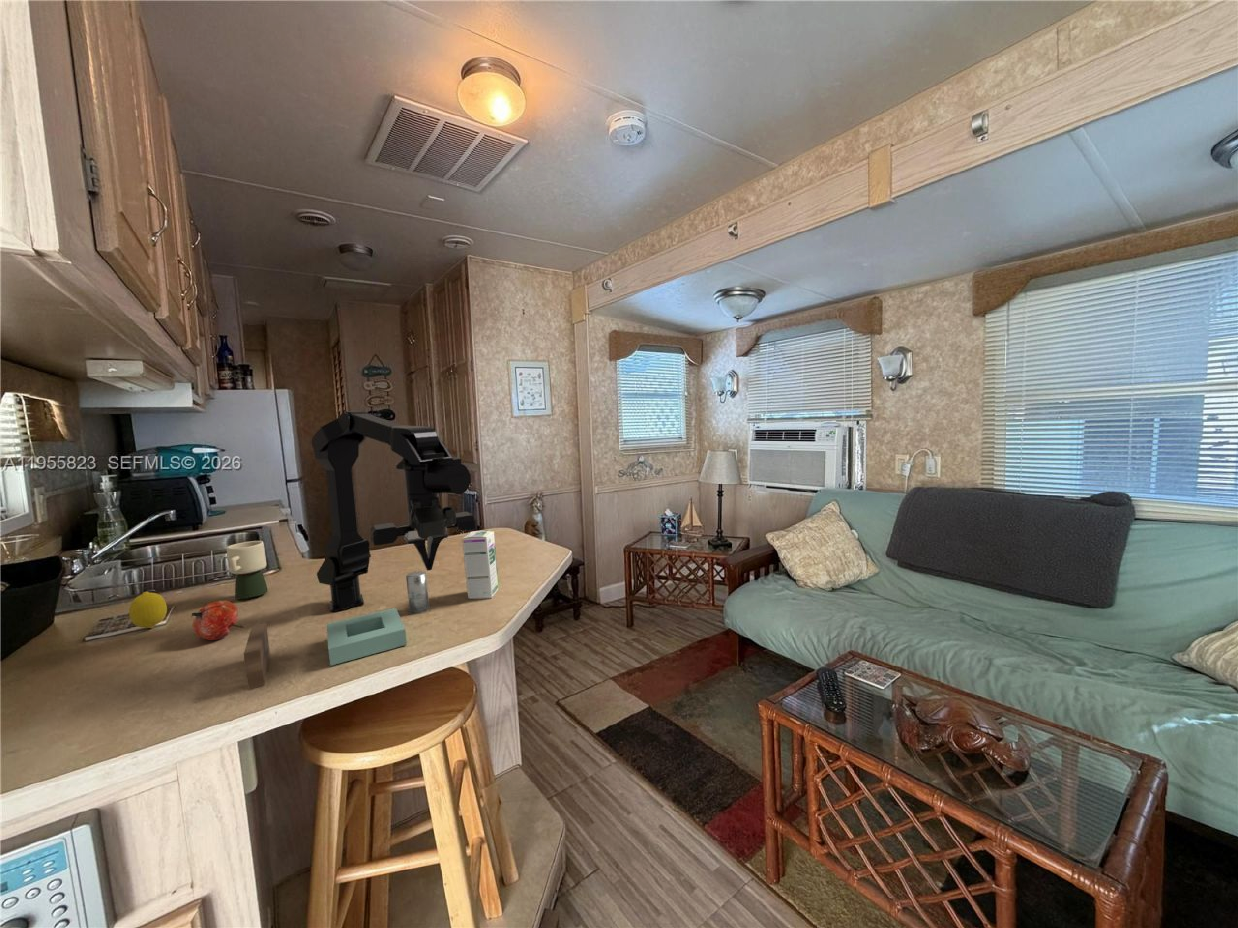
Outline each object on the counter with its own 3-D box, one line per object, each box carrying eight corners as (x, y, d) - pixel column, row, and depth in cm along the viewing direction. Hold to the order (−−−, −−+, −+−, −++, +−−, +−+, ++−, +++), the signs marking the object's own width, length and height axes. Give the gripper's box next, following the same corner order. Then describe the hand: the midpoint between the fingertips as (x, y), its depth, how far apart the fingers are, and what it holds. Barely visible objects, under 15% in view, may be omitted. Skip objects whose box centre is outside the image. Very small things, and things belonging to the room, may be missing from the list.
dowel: (408, 609, 103) (404, 573, 102) (427, 604, 105) (424, 569, 104) (411, 615, 100) (407, 578, 99) (431, 610, 102) (427, 574, 101)
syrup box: (492, 598, 107) (488, 536, 105) (466, 599, 107) (461, 537, 106) (499, 589, 113) (495, 529, 111) (474, 589, 113) (470, 530, 111)
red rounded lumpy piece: (226, 637, 98) (171, 625, 91) (250, 604, 100) (198, 589, 93) (238, 650, 94) (181, 639, 86) (262, 615, 96) (209, 601, 89)
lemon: (175, 624, 100) (170, 588, 99) (142, 636, 95) (136, 598, 94) (159, 621, 102) (153, 585, 101) (125, 633, 97) (119, 595, 96)
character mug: (249, 589, 119) (243, 539, 118) (280, 587, 120) (274, 537, 119) (220, 607, 109) (212, 552, 107) (254, 604, 110) (247, 549, 108)
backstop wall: (256, 658, 84) (252, 625, 83) (270, 654, 85) (266, 622, 84) (248, 689, 74) (243, 653, 73) (264, 685, 75) (259, 649, 74)
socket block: (328, 638, 90) (326, 623, 90) (397, 621, 96) (395, 607, 96) (330, 665, 80) (328, 649, 80) (406, 644, 86) (405, 628, 86)
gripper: (372, 504, 80) (381, 593, 82) (482, 491, 90) (488, 570, 92) (366, 496, 89) (374, 576, 91) (466, 484, 99) (472, 556, 101)
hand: (429, 569), depth 93 cm, fingers closed
